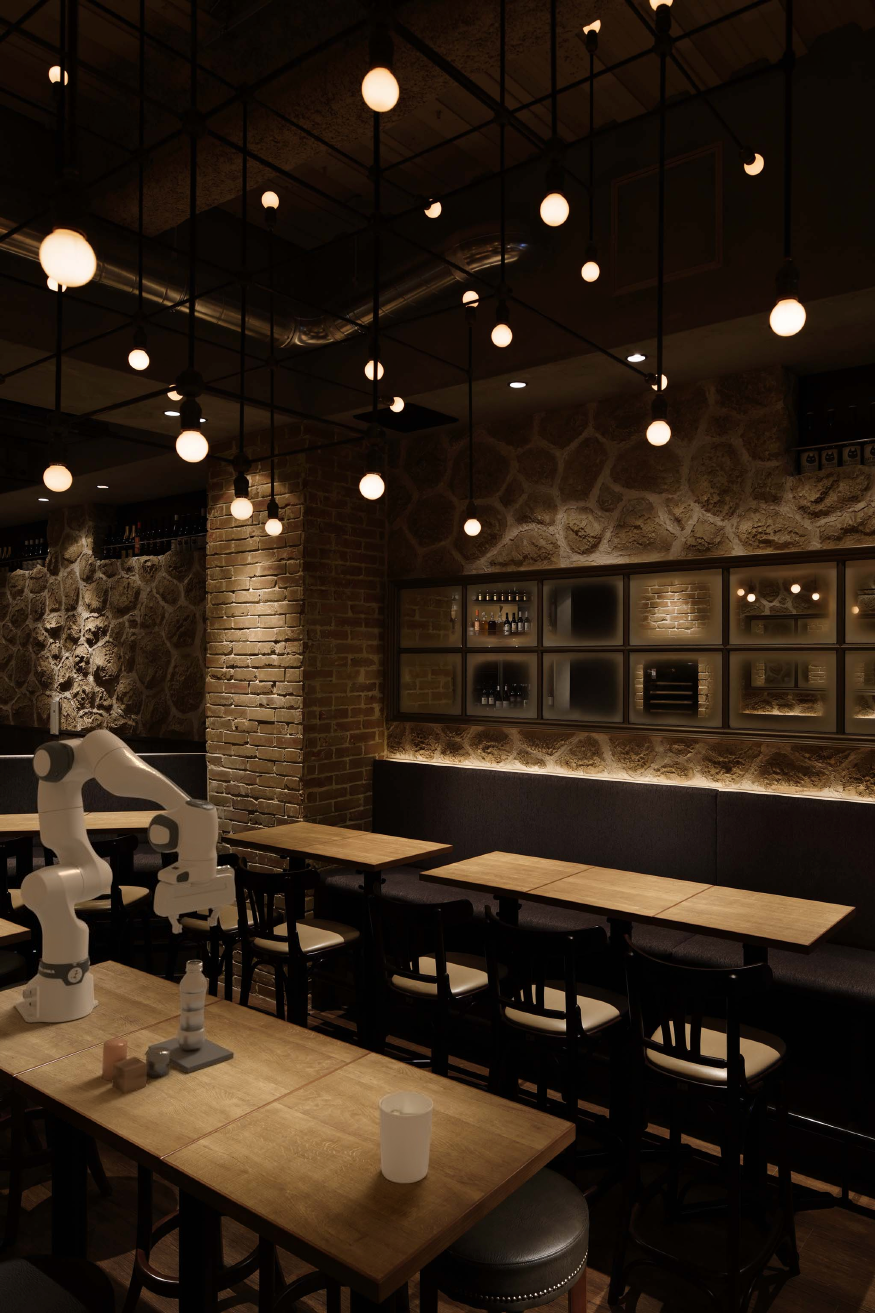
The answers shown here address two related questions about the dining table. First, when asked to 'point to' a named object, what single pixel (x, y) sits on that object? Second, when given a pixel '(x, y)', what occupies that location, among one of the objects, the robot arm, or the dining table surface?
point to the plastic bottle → (192, 1007)
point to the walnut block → (129, 1075)
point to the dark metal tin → (157, 1062)
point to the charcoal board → (195, 1055)
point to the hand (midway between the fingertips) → (194, 929)
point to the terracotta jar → (113, 1056)
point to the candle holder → (405, 1135)
